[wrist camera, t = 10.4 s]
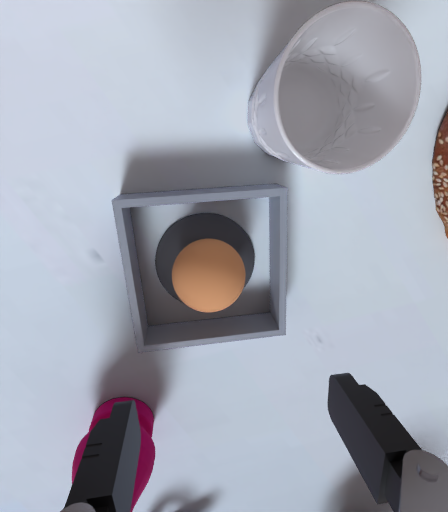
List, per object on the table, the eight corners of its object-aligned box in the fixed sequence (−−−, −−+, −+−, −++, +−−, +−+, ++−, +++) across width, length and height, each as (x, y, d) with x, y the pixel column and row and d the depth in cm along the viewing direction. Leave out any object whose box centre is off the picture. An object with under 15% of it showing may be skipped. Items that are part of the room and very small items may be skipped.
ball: (237, 227, 27) (251, 248, 22) (240, 289, 29) (253, 322, 24) (169, 233, 27) (165, 255, 21) (176, 295, 29) (174, 331, 23)
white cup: (300, 35, 23) (379, -42, 14) (350, 124, 26) (444, 110, 17) (219, 104, 24) (242, 76, 15) (275, 184, 27) (325, 203, 17)
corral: (276, 183, 27) (287, 187, 24) (275, 316, 31) (285, 334, 28) (120, 194, 25) (111, 200, 22) (142, 332, 30) (138, 352, 27)
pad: (252, 209, 27) (253, 209, 27) (254, 300, 30) (255, 301, 30) (149, 217, 26) (149, 218, 26) (161, 310, 29) (161, 311, 29)
